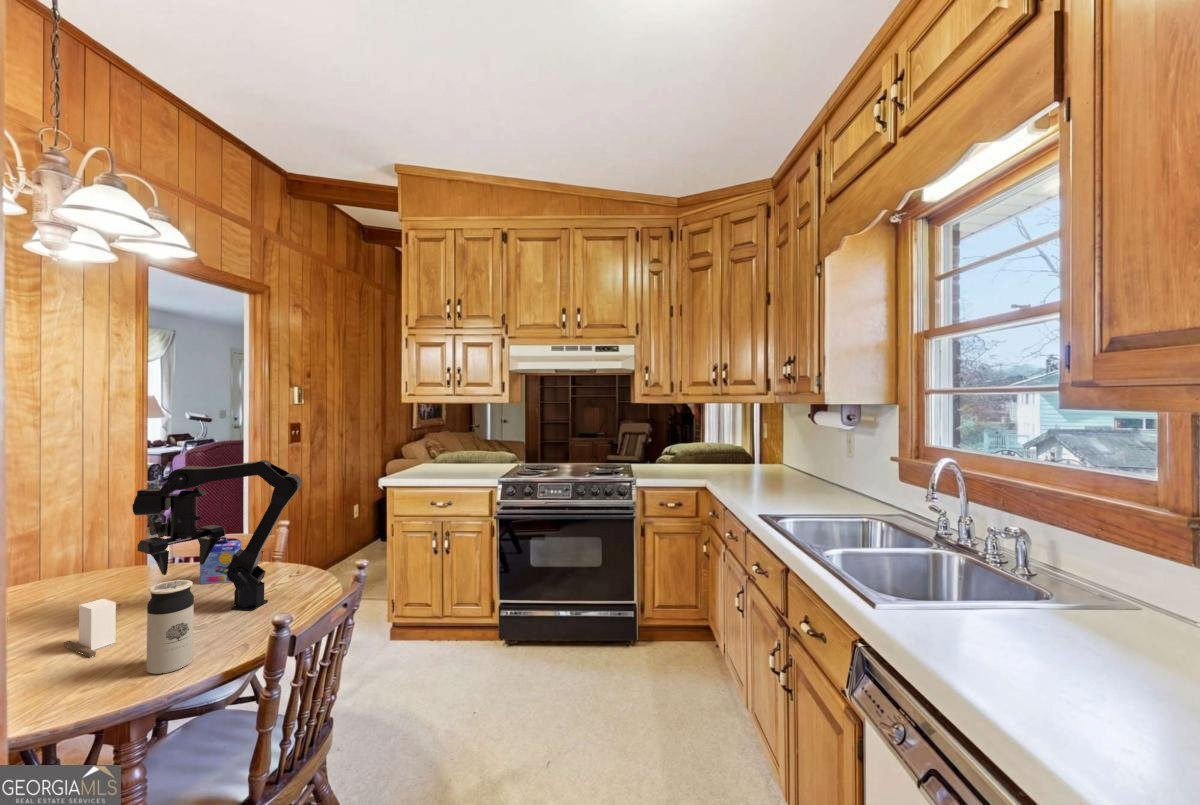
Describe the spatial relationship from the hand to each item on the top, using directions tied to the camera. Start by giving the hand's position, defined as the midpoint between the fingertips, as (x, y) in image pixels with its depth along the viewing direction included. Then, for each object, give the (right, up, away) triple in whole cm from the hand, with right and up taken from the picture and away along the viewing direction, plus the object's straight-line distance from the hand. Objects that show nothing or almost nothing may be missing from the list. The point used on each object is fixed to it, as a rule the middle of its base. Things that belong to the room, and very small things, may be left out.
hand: (183, 569), depth 142 cm
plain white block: (-6, -12, -19) cm, 23 cm away
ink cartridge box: (-8, -12, +24) cm, 28 cm away
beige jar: (+18, -13, -27) cm, 35 cm away
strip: (-7, -12, -22) cm, 26 cm away
